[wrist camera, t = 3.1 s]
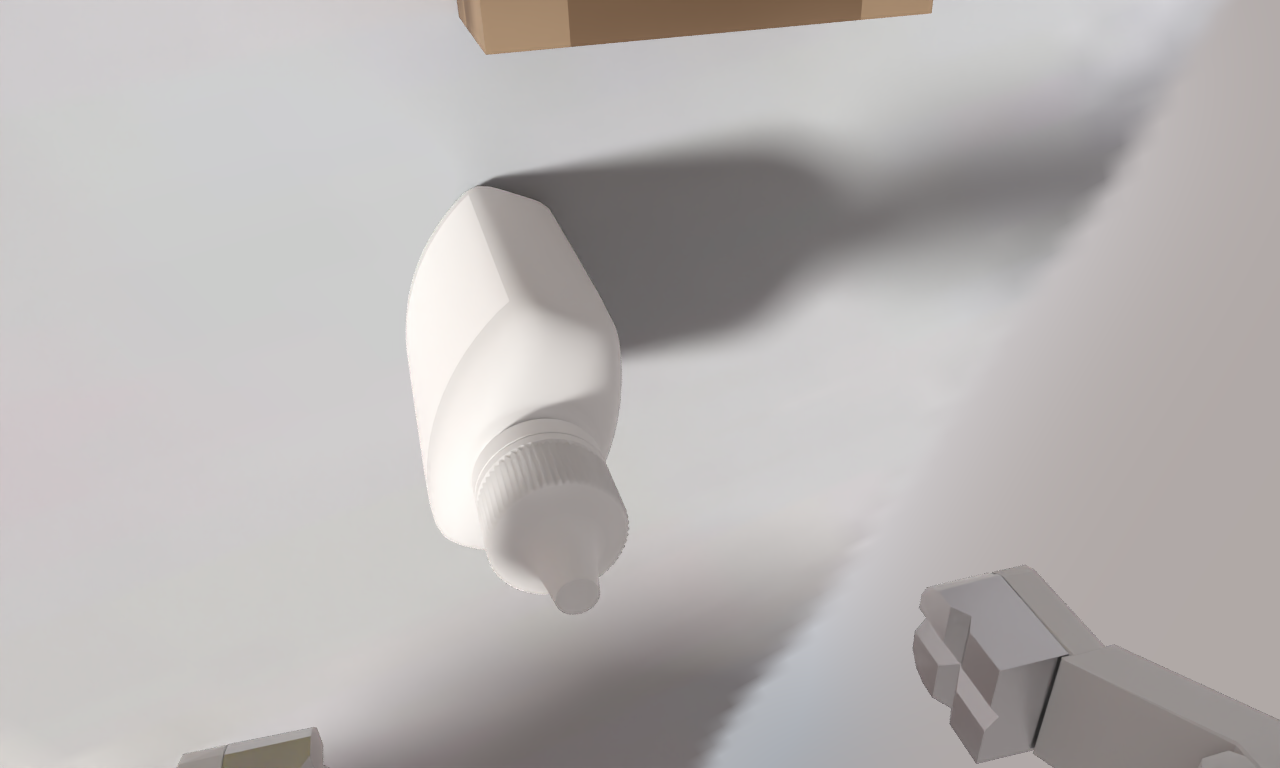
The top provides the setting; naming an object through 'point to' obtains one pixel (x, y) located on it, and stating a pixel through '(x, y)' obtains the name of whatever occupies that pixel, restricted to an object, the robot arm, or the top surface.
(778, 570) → the top surface
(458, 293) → the white squeeze bottle
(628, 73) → the top surface
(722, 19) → the divided box
